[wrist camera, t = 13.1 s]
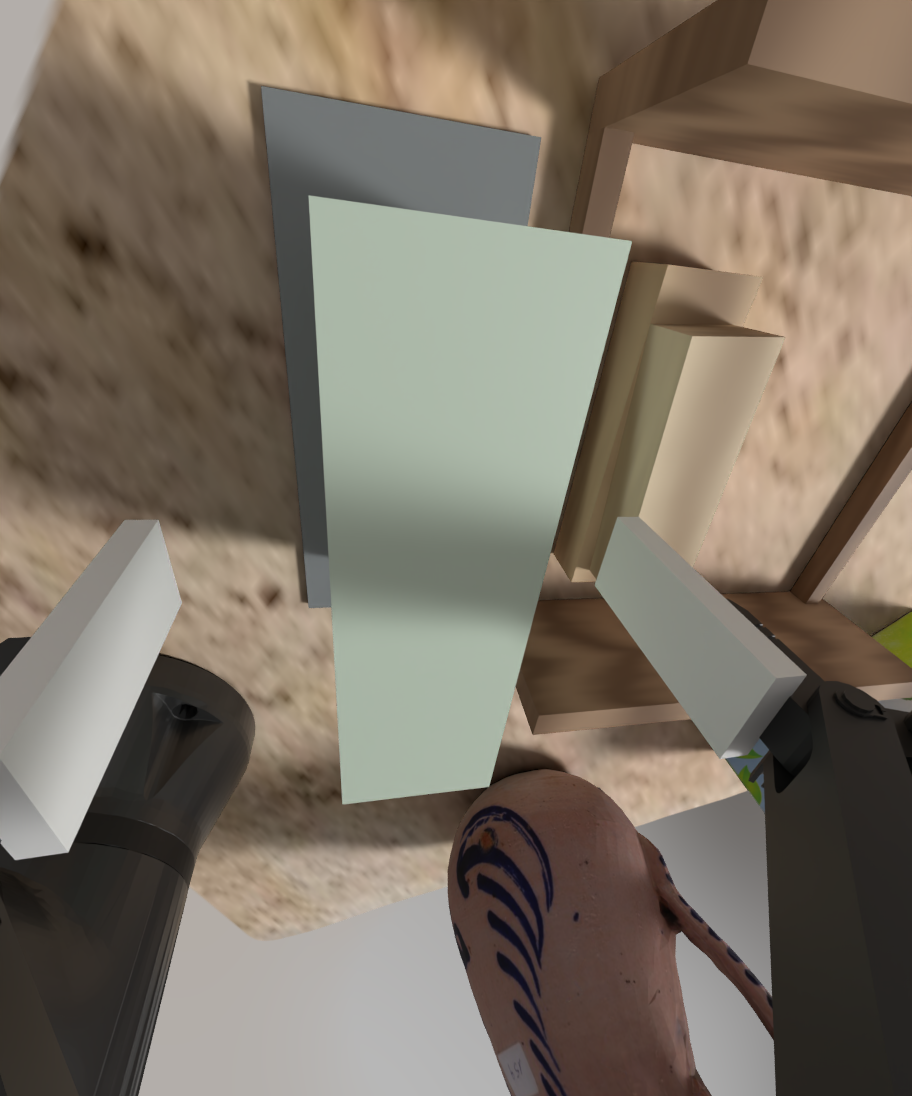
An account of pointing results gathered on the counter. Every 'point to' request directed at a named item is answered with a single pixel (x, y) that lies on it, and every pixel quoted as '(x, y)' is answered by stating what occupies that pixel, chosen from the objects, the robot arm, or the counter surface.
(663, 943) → the ceramic pitcher
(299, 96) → the mat
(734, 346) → the offcut stack
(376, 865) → the counter surface
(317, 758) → the counter surface
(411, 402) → the pale green block
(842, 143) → the rack
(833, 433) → the counter surface
